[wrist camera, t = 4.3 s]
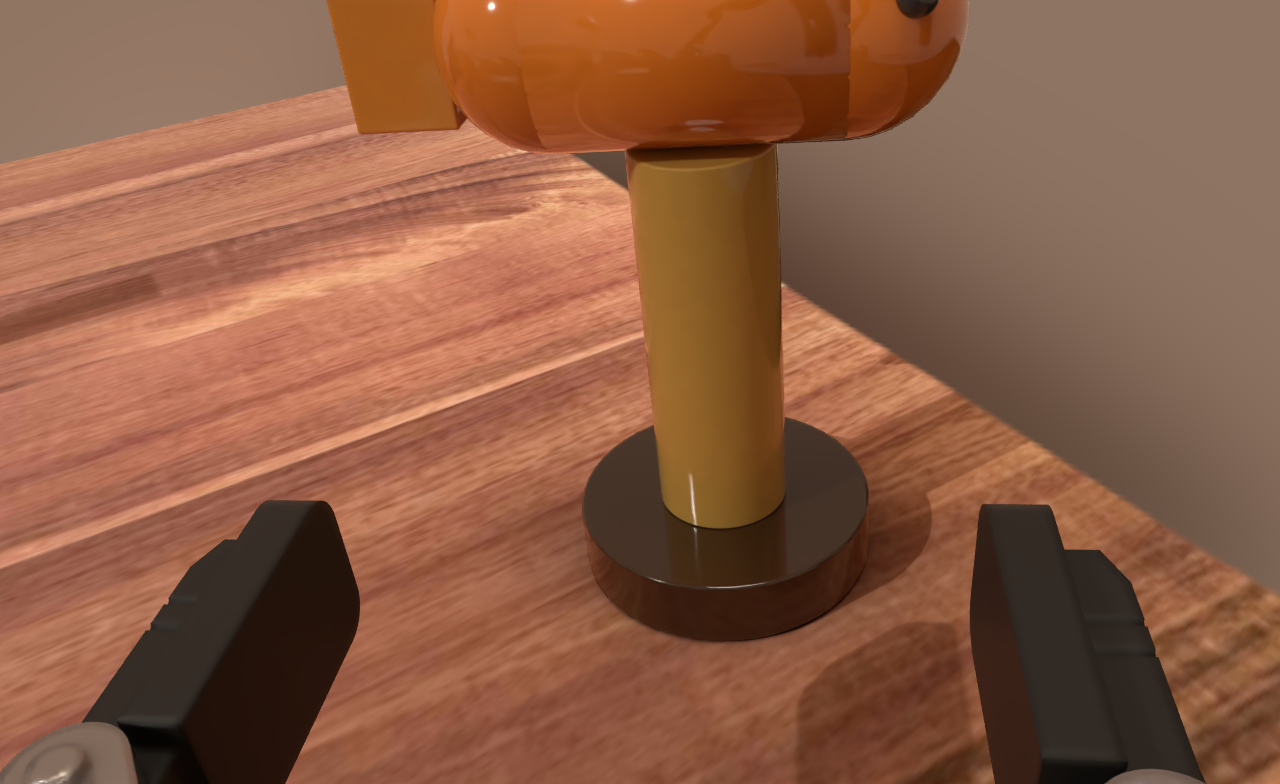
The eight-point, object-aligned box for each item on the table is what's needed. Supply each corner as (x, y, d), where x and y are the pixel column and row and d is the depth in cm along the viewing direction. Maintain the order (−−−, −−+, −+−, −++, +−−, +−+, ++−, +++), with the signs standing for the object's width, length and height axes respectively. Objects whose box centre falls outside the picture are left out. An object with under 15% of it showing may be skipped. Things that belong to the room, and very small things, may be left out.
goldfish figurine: (421, 633, 23) (233, -26, 16) (493, 457, 28) (377, -98, 21) (947, 649, 21) (1010, -85, 14) (919, 457, 27) (954, -148, 19)
